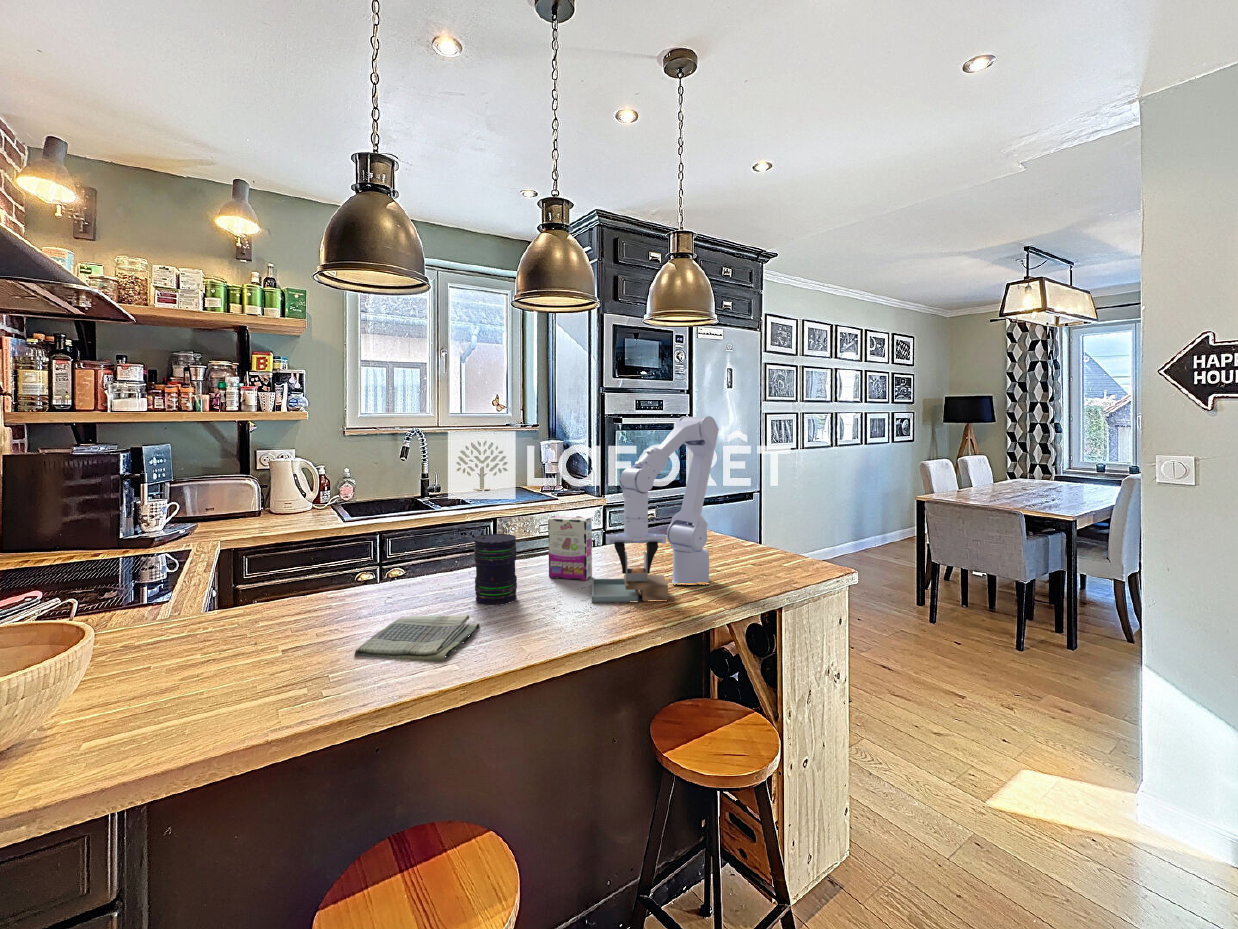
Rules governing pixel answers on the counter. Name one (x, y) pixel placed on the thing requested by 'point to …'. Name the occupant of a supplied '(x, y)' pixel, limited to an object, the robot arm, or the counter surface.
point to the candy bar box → (570, 548)
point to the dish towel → (419, 638)
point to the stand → (650, 587)
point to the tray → (612, 591)
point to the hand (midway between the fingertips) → (635, 572)
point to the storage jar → (495, 569)
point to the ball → (638, 570)
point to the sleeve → (636, 576)
